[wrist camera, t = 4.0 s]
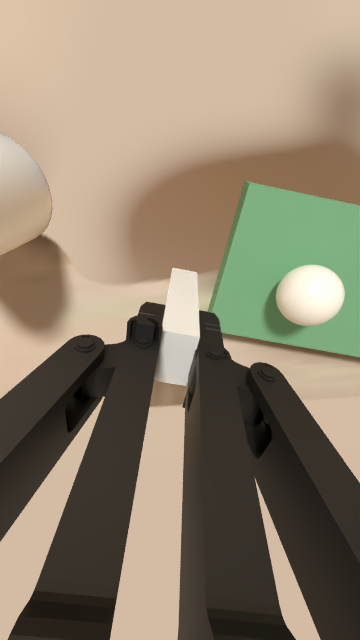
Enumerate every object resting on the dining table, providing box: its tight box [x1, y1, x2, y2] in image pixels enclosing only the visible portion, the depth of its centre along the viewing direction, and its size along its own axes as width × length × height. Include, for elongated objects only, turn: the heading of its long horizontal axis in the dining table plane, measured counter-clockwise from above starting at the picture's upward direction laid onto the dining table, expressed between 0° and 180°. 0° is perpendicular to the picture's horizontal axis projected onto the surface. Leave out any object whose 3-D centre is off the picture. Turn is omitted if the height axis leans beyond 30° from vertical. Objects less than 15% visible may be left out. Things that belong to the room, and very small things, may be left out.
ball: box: [276, 265, 345, 326], centre depth 18 cm, size 4×4×4 cm
